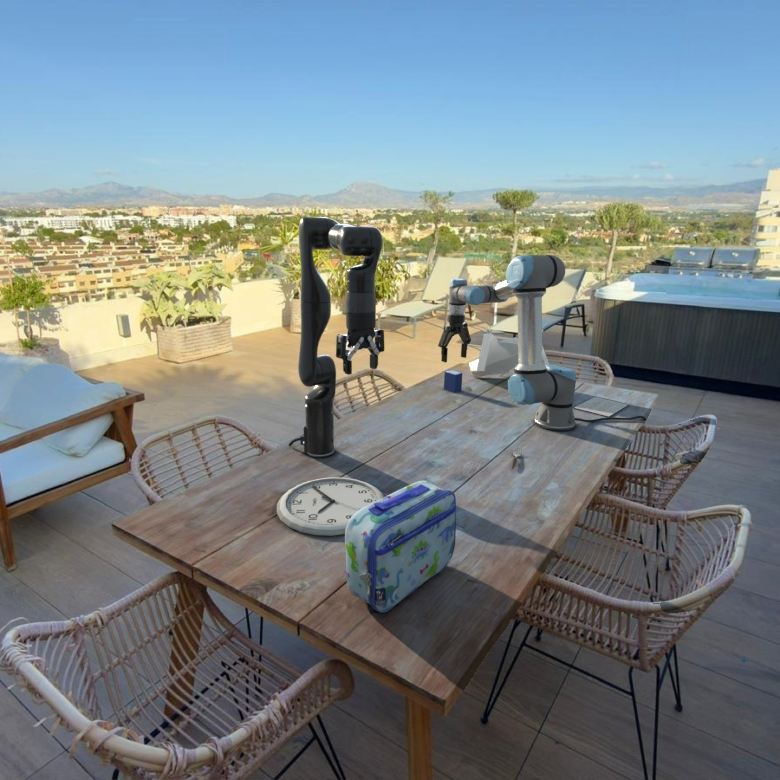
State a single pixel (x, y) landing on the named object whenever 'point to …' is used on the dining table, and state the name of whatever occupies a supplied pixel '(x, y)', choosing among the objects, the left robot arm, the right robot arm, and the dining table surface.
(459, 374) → the block
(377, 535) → the lunch box
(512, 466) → the fork
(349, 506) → the wall clock
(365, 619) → the dining table surface
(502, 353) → the white plastic object
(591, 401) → the invitation card
